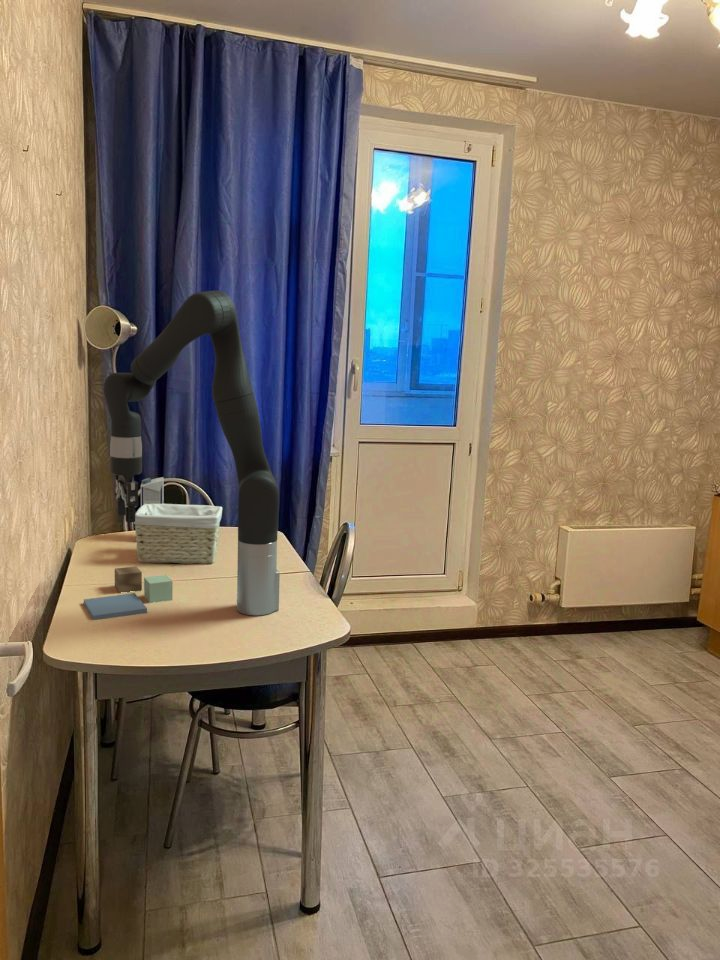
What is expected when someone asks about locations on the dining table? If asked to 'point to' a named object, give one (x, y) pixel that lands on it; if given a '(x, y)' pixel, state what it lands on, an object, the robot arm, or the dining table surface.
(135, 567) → the walnut block
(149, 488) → the milk carton
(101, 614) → the base board
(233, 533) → the dining table surface
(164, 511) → the storage basket
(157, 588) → the sage green block
